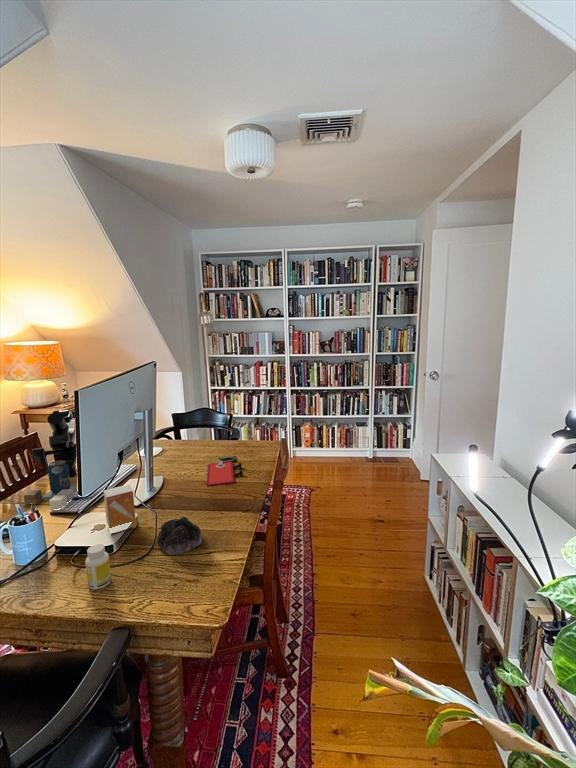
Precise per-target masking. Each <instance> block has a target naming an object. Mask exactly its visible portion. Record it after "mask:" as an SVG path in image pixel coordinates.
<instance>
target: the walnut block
mask: <svg viewBox="0 0 576 768" xmlns="http://www.w3.org/2000/svg"><path fill="white" fill-rule="evenodd" d="M42 497H43V496H42V490H41V489H33V490H32V489H31V490H28V491H27V492H26V493H24V494H23V501H24V505H25V504H30V503H33V504H32V505H36V504H38V503H40V502H41V501H43V498H42Z"/></svg>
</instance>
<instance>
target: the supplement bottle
mask: <svg viewBox="0 0 576 768" xmlns="http://www.w3.org/2000/svg"><path fill="white" fill-rule="evenodd" d="M86 553H87V554H86V555H87V557H86V559H85V562H84V564H85V571H86V579H87V585H88V588H89V589H91V590H101V589H103V588H105V587H107V586H108V585H109V584H110V583H111V582H112V581H111V580H112V572H111V571H112V569H111V563H110V557H109V556H110V555H109V553H108V552H107V551H106V548H105V544H102V543H95V544H94V545H92V546H89V547H88V549H87V550H86Z"/></svg>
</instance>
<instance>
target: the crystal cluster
mask: <svg viewBox="0 0 576 768" xmlns="http://www.w3.org/2000/svg"><path fill="white" fill-rule="evenodd" d="M202 542H203V537H202V531H201V527H200V526H198V525H196V524H194V523H193V522H192V521H190V520H189V518H188V517H186V516H182V517H181V518H173V519H169V520H168V521H165V522H164V523H162V525H161V526H160V531H159V533H158V535H157V538H156V543H157V546H159V547H160V550H161V551H162V552H163V553H166V554H168V556H173V555H175V556H176V555H181V554H184V553H186V552H190V551H191V550H194V549H195V548H196V547H197V546H199V545H201V544H202Z"/></svg>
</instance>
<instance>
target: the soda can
mask: <svg viewBox="0 0 576 768" xmlns="http://www.w3.org/2000/svg"><path fill="white" fill-rule="evenodd" d="M47 475H48V483H49V487H50V488H49V489H50V491H51V492H52V493H53V494H58V493H59V492H60V491H61V490H64V489H70V487H71V486H72V485H71V478H70V477H69V469H68V464H67V463H66V461H65V460H57V461H54V460H53V461H51V462H49V463H48V465H47Z"/></svg>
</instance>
